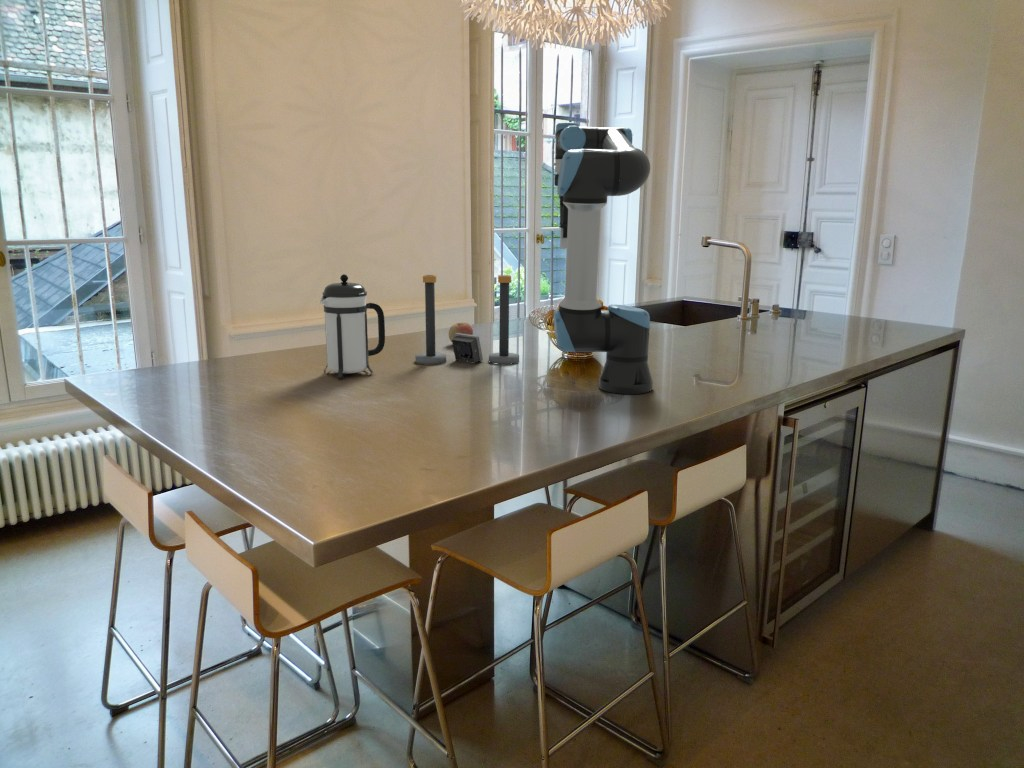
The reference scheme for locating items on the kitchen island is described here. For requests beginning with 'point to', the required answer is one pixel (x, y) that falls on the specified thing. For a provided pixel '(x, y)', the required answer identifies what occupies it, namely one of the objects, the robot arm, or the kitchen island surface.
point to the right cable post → (504, 325)
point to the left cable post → (430, 326)
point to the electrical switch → (467, 347)
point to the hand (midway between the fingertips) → (564, 248)
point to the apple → (460, 330)
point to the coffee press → (349, 328)
